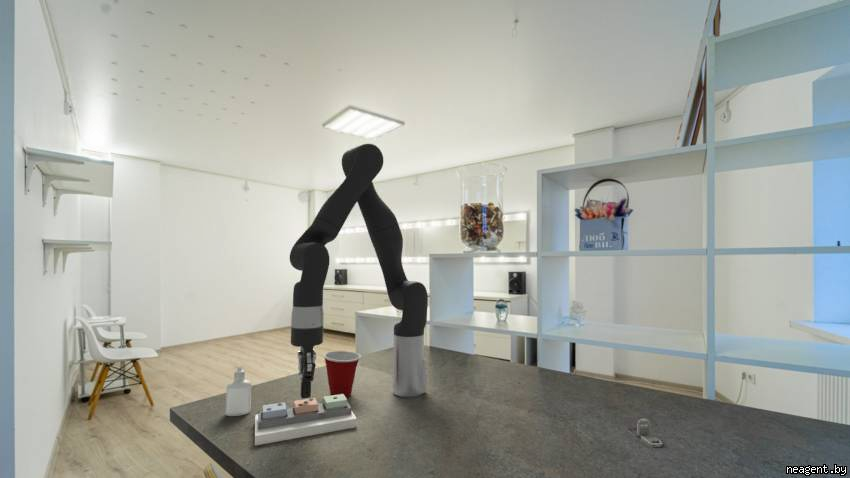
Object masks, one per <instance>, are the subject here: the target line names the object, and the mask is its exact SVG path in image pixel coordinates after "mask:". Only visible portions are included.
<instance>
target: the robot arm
mask: <svg viewBox="0 0 850 478" xmlns="http://www.w3.org/2000/svg"><path fill="white" fill-rule="evenodd" d="M383 166H384V155H383V152H382V150H381V149H380V148H379V147H378V146H377V145H376V144H374V143H369V142H368V143H367V142H366V143H361V144H359V145H356V146H355V147H352V148H350V149H348V150H346V151H345V152H344V153H343V154H342V157H341V167H342V168H341V169H342V171H343V174H344V176H345V178H344V180H343V182H342V183H341V184H340V185H339V186H338V187H337V188H336V190H335V191H334V192H333V193H331V195H330V196H328V198H327V200H325V202H324V203H323V204H322V206H321V207H320V209H319V211H318V212H317V214H316V216H315V217H314V219H313V221H312V223H311V225H310V226H309V227H308V228H307V229H306V230H305V231H304V232H303V234H301V236H300V237H298V238H297V240H296V242H295V243H294V245H293V246H292V247H291V249H290V254H289V261H290V265H291V267H293V268H294V269H295V270H298V271H300V272H301V276H300V281H298V282H296V283H295V284H294V286H293V292H292V293H293V294H292V310H291V316H290V317H291V319H290V323H291V324H290V344H291V346H293V347H298V348H300V350H299V351H297V353H296V354H297V356H296V357H297V359H298V361H297V364H298V365H297V368H298V371H299V372H298V375H299V381H300V398H301V399H310V398H311V396H312V393H311V392H312V382H313V381H314V379H315V377H314V375H315V370H316V359H317V352H315V349H314V347H315V346H320V345H321V344H323V342H324V319H325V316H324V315H325V313H324V306H323V304H324V286H325V282H326V280H327V275H328V272H329V269H330V268H329V266H330V254H329V251H328V250H329V249H328V248H327V247H326V245H327V244H328V243H330V242H333V241H335V239H336V238H337V237H338V235H339V233H340V231H341V230H342V228H343V227H344V225H345V223H346V221H347V219H348V217H349V215H350V213H351V212H352V210H353V208H355V206H356V204H358V207H359V211H360V213H361V215H362V217H363V221H364V224H365V226H366V229H367V233H368V235H369V239H370V241H371V243H372V244H371V245H372V247H373V249H374V251H375V255H376V257H377V261H378V263H379V267H380V269H381V272H382V275H383V279H384V284H385V289H386V292H387V296H388V299H389V300H388V301H389V302H390V304H391V305H392V307H393V308H394V309H396V310H399V311H402V313H401V320H400V321H399V322H397V323H395V324H394V326H393V356H392V357H393V359H392V360H393V363H392V365H393V368H392V369H393V373H392V374H393V376H392V378H393V379H392V380H393V381H392V389H393V390H392V391H393V394H394V395H396V396H398V397H402V398H414V397H418V396H421V395H422V394H425V393H426V394H427V360H426V359H425V328H426V324H427V322H428V321H427V320H428V304H429V303H428V301H429V300H428V299H429V298H428V297H429V296H428V290H427V288H426V287H425V285H424V284H423V283H422V282H419V281H415V280H414V281H412V280H409V279H408V278H407V275H406V273H405V270H404V267H403V263H402V256H403V247H404V245H403V244H404V239H403V234H402V230H401V227H400V224H399V221H398V219H397V217H396V215H395V213H394V212H393V211H392V210H391V208H390V207H389V206H388V204H386V203H385V202H384V201H383V199H382V198H381V197H380V196H379V194H378V192H377V190H376V188H375V186H374V183H373V180H374V179H376V177H377V176H378V175H379V173H380V172H381V170H382V169H383Z"/></svg>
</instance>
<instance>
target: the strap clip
mask: <svg viewBox="0 0 850 478" xmlns="http://www.w3.org/2000/svg"><path fill="white" fill-rule="evenodd" d="M641 423H647V424H641ZM651 426H652V425H651V421H650V420H649V419H647V418H640V419H638V420H637V423H636V427H627V428H626V430H627V431H628V432H629V433H630V434H632V435H634V436H635V437H638V438H640V440H641V441H642V442H644V443H645V444H646V445H648V446H649V447H653V448H660V447H663V445H664V444H663V442H662V440H660V439H658V438H657V437H655V436H653V435H650V434H651Z"/></svg>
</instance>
